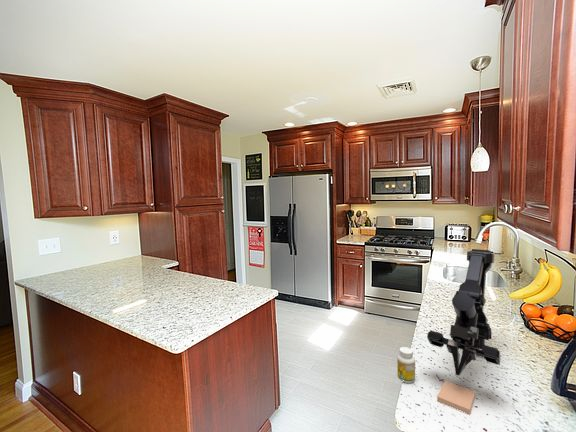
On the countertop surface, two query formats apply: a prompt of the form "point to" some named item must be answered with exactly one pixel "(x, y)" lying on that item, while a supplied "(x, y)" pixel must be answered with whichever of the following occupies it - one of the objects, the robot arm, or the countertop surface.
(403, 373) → the supplement bottle
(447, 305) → the countertop surface
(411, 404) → the countertop surface
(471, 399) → the tile
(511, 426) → the countertop surface
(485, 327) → the robot arm
